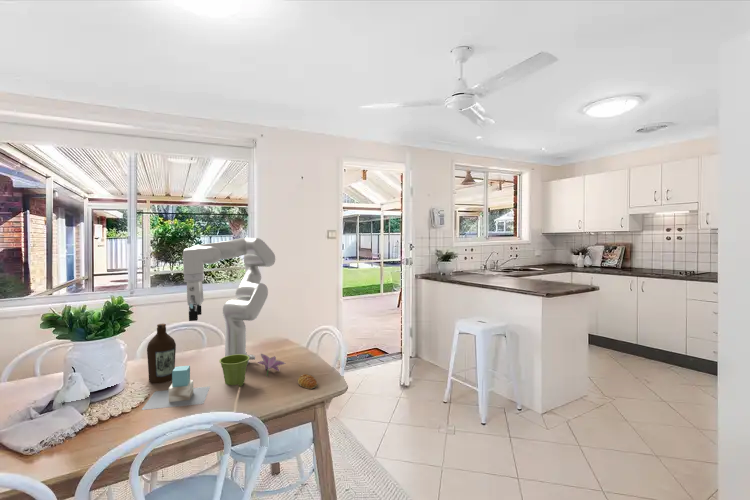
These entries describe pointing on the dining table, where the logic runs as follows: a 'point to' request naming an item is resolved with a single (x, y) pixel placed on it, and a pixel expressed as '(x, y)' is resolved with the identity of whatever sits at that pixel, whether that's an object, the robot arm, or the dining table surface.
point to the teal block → (180, 376)
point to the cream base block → (181, 392)
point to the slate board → (162, 401)
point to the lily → (270, 362)
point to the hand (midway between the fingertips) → (195, 317)
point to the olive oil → (161, 356)
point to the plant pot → (234, 368)
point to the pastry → (307, 381)
